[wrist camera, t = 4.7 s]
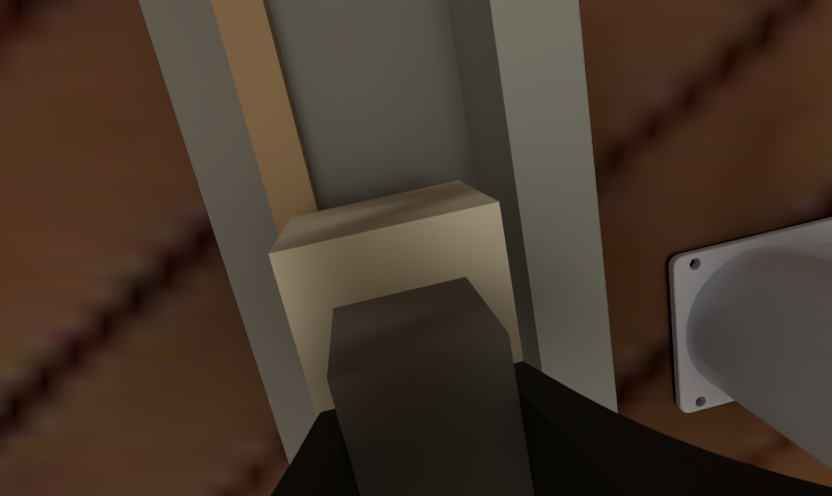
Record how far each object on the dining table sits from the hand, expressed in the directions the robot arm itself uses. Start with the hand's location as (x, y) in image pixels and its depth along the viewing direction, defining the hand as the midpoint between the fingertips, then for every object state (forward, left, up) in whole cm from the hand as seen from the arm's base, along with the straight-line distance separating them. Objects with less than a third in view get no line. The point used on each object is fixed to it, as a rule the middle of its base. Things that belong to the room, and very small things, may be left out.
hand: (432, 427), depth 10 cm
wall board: (0, 0, -10) cm, 10 cm away
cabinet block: (0, 0, -6) cm, 6 cm away
